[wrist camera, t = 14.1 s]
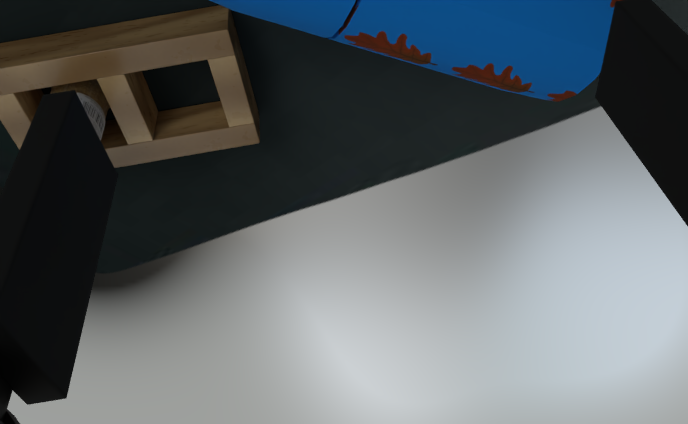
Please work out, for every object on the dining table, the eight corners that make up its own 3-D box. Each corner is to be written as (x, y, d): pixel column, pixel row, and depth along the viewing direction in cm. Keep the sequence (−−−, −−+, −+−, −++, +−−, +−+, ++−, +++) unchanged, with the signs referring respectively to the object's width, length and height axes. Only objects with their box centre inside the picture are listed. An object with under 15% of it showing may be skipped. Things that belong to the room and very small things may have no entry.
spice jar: (43, 69, 46) (-10, 185, 37) (103, 63, 47) (66, 176, 37) (65, 118, 50) (22, 237, 40) (121, 112, 50) (92, 229, 40)
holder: (-13, 45, 45) (-30, 73, 42) (228, 3, 45) (227, 29, 42) (50, 150, 52) (39, 181, 49) (259, 114, 52) (260, 143, 49)
